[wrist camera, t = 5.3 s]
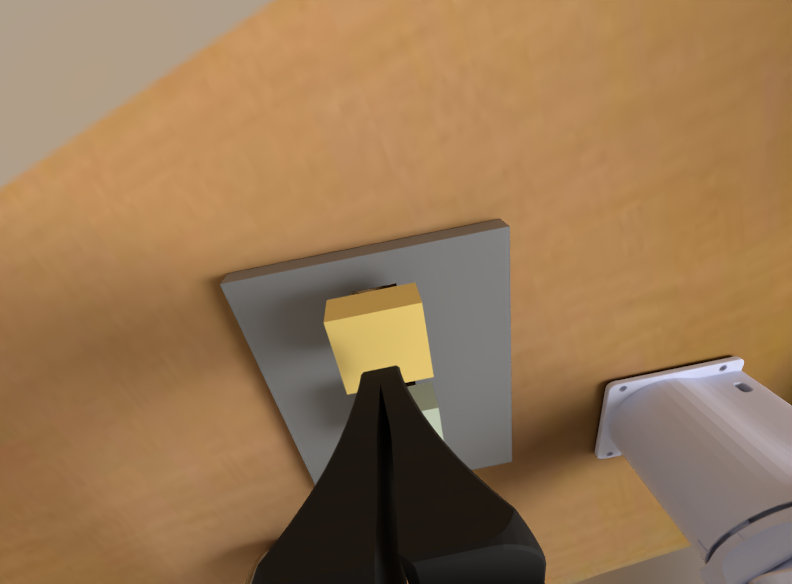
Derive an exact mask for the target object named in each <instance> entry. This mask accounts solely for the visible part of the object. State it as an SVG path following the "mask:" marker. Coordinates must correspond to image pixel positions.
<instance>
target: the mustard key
mask: <svg viewBox="0 0 792 584" xmlns="http://www.w3.org/2000/svg"><path fill="white" fill-rule="evenodd" d="M324 326H325V329H326V332H327V335H328V338H329V341H330V344H331V347H332V350H333V353H334V356H335V359H336V362H337V365H338V368H339V371H340V374H341V377H342V380H343V383H344V386H345V389H346V392H347V395H348V394H353V393H357V391H358V387H359V383H360V378H361V375H362V373H363V372H366V371H371V370H376V369H381V368H386V367H390V366H395V365H397V366H398V367H400V371H401V374H402V377H403V379H404V382H405V383H407V382H412V381H417V380H421V379H426V378H431V377H434V375H433V369H432V362H431V356H430V350H429V343H428V337H427V330H426V324H425V318H424V311H423V305H422V301H421V298H420V295H419V292H418V289H417V286H416V283H415V282H414V283H409V284H404V285H400V286H395V287H390V288H385V289H380V290H375V291H370V292H365V293H360V294H355V295H350V296H345V297H340V298H335V299H330V300H327V301H326V309H325V316H324Z"/></svg>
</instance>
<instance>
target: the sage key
mask: <svg viewBox="0 0 792 584" xmlns="http://www.w3.org/2000/svg"><path fill="white" fill-rule="evenodd" d="M407 388H408V390H409V392H410V393H411V395H412V397H413V399H414V400H415V402H416V404H417V405H418V407H419V408H420V410H421V411H422V413H423V414H424V416H425V417H426V419H427V420H428V421H429V423H430V424H431V426H432V427H433V428H434V430H435V431H436V432H437V433H438V435H439V436H440V437H441V438H442V439H443V433H442V426H441V420H440V413H439V407H438V404H437V400H436V396H435V393H434V389H433V386H432V382H427V383H422V384H417V385H412V386H408V387H407ZM443 441H444V439H443Z"/></svg>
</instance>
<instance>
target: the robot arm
mask: <svg viewBox="0 0 792 584" xmlns="http://www.w3.org/2000/svg"><path fill="white" fill-rule="evenodd" d="M743 365H744V360H743V359H741V358H740V357H737V356H736V357H730V358H725V359H720V360H715V361H710V362H705V363H700V364H695V365H691V366H686V367H681V368H676V369H671V370H666V371H661V372H656V373H652V374H647V375H642V376H637V377H632V378H627V379H622V380H617V381H613V382H610V383H609V384H608V385H607V386H606V389H605V395H604V400H603V406H602V412H601V418H600V424H599V430H598V436H597V442H596V448H595V455H596V457H597V458H598V459H605V458H610V457H615V456H620V455H623V456H624V457H625V459H626V460H627V461H628V463H629V464H630V465H631V466H632V468H633V469H634V470H635V472H636V473H637V474H638V476H639V477H640V478H641V480H642V481H643V482H644V484H645V485H646V486H647V487H648V489H649V490H650V491H651V493H652V494H653V495H654V497H655V498H656V499H657V501H658V502H659V503H660V505H661V506H662V507H663V508H664V510H665V511H666V512H667V514H668V515H669V516H670V518H671V519H672V520H673V522H674V523H675V524H676V526H677V527H678V528H679V530H680V531H681V532H682V533H683V535H684V536H685V537H686V539H687V540H688V541H689V543H690V544H691V545H692V547H693V548H694V549H695V551H696V552H697V553H698V554H699V556H700V557H701V558H702V560H703V561H704V562H705V564H706V565H705V566H704V567H703V568H701V569H700V570H698V574H699V575H700V577H701V578H702V579H703V581H704V582H705V583H706V584H792V405H790V404H789V403H787V402H786V401H785V400H783V399H782V398H780V397H779V396H777V395H776V394H774V393H773V392H772V391H770V390H769V389H767V388H766V387H764V386H763V385H761V384H760V383H759V382H757V381H756V380H754V379H753V378H751V377H750V376H748V375H747V374H746V373H744V372H743V371H741V369H742V367H743ZM545 570H546V561H545V556H544V554H543V551H542V549H541V547H540V546H539V544H538V542H537V540H536V538H535V537H534V535H533V533H532V532H531V530H530V529H529V527H528V526H527V524H526V523H525V522H524V520H523V519H522V517H521V516H520V515H519V513H518V512H517V510H516V509H515V508H514V507H513V506H511V505H510V504H509V503H508V502H506V501H505V500H504V499H503V498H501V497H500V496H499V495H498V494H497V493H496V492H494V491H493V490H492V489H491V488H490V487H489V486H487V485H486V484H485V483H484V482H483V481H482V480H481V479H480V478H479V477H478V476H476V475H475V474H474V473H473V472H472V471H471V470H470V469H469V468H468V467H467V466H466V465H465V464H464V463H463V462H462V461H461V460H460V459H459V458H458V456H457V455H456V454H455V453H454V452H453V451H452V450H451V449H450V448H449V446H448V445H447V444H446V443H445V442H444V441H443V439H442V438H441V437H440V436H439V435H438V433H437V432H436V431H435V430H434V428H433V427H432V426H431V424H430V423H429V421H428V420H427V419H426V417H425V416H424V414H423V413H422V411H421V410H420V408H419V407H418V405H417V404H416V402H415V400H414V399H413V397H412V395H411V393H410V392H409V390H408V388H407V386H406V384H405V382H404V379H403V377H402V374H401V371H400V367H398V366H397V365H395V366H390V367H386V368H381V369H376V370H371V371H366V372H363V373H362V375H361V378H360V383H359V387H358V391H357V394H356V397H355V401H354V404H353V406H352V409H351V412H350V415H349V418H348V420H347V423H346V425H345V428H344V430H343V432H342V435H341V437H340V439H339V442H338V444H337V446H336V448H335V450H334V452H333V454H332V456H331V458H330V460H329V462H328V464H327V466H326V468H325V469H324V471H323V473H322V475H321V476H320V478H319V480H318V482H317V483H316V485H315V487H314V488H313V490H312V491H311V493H310V495H309V496H308V498H307V499H306V501H305V502H304V504H303V505H302V507H301V508H300V509H299V511H298V512H297V514H296V515H295V517H294V518H293V520H292V521H291V523H290V524H289V525H288V527H287V528H286V529H285V531H284V532H283V533H282V535H281V536H280V537H279V538H278V540H277V541H276V542H275V544H274V545H273V546H272V547H271V549H270V550H269V551H268V552H267V554H266V555H265V556H264V557H263V559H262V560H261V561H260V562H259V564H258V565H257V568H256V571H255V574H254V577H253V580H252V584H407V580H408V583H409V584H545V583H544V581H545ZM406 577H407V578H406Z"/></svg>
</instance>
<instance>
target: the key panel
mask: <svg viewBox="0 0 792 584" xmlns="http://www.w3.org/2000/svg"><path fill="white" fill-rule="evenodd" d="M414 282H415V283H416V286H417V289H418V292H419V295H420V298H421V301H422V305H423V311H424V318H425V324H426V330H427V337H428V343H429V350H430V356H431V362H432V369H433V375H434V377H431V378H426V379H421V380H417V381H415V384H416V385H417V384H422V383H427V382H432V386H433V389H434V393H435V396H436V400H437V404H438V407H439V413H440V420H441V426H442V433H443V439H444V442H445V443H446V444H447V445H448V446H449V448H450V449H451V450H452V451H453V452H454V453H455V454H456V455H457V456H458V458H459V459H460V460H461V461H462V462H463V463H464V464H465V465H466V466H467V467H468V468H469V469H470V470H475V469H480V468H484V467H489V466H494V465H499V464H504V463H509V462H512V402H511V313H510V226H509V225H507V224H506V223H505V222H504V221H502V220H501V219H497V220H492V221H487V222H482V223H477V224H472V225H467V226H462V227H457V228H452V229H447V230H442V231H437V232H432V233H427V234H422V235H417V236H412V237H407V238H402V239H397V240H392V241H387V242H382V243H377V244H372V245H367V246H362V247H357V248H352V249H347V250H342V251H337V252H332V253H327V254H322V255H317V256H312V257H307V258H302V259H297V260H292V261H287V262H282V263H277V264H272V265H267V266H262V267H257V268H252V269H247V270H242V271H237V272H232V273H228V274H227V275H226V276H225V278H224V279H223V281H222V282H221V283H220V286H221V288H222V290H223V292H224V294H225V297H226V299H227V301H228V303H229V305H230V307H231V309H232V311H233V313H234V315H235V318H236V320H237V322H238V324H239V326H240V328H241V330H242V332H243V334H244V336H245V339H246V341H247V343H248V345H249V347H250V349H251V351H252V353H253V355H254V358H255V360H256V362H257V364H258V366H259V368H260V370H261V372H262V374H263V376H264V379H265V381H266V383H267V385H268V387H269V389H270V391H271V393H272V395H273V397H274V400H275V402H276V404H277V406H278V408H279V410H280V412H281V414H282V416H283V419H284V421H285V423H286V425H287V427H288V429H289V431H290V433H291V435H292V437H293V440H294V442H295V444H296V446H297V448H298V450H299V452H300V454H301V456H302V459H303V461H304V463H305V465H306V467H307V469H308V471H309V473H310V475H311V477H312V480H313V482H314V484H315V485H316V483H317V482H318V480H319V478H320V476H321V475H322V473H323V471H324V469H325V468H326V466H327V464H328V462H329V460H330V458H331V456H332V454H333V452H334V450H335V448H336V446H337V444H338V442H339V439H340V437H341V435H342V432H343V430H344V428H345V425H346V423H347V420H348V418H349V415H350V412H351V409H352V406H353V404H354V401H355V397H356V394H357V393H353V394H348V395H347V392H346V389H345V386H344V383H343V380H342V377H341V374H340V371H339V368H338V365H337V362H336V359H335V356H334V353H333V350H332V347H331V344H330V341H329V338H328V335H327V332H326V329H325V326H324V316H325V309H326V301H327V300H330V299H335V298H340V297H345V296H350V295H353V293H352V292H355V291H360V290H365V289H370V288H375V287H380V286H385V285H390V284H395V283H396V286H400V285H404V284H409V283H414Z"/></svg>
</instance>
